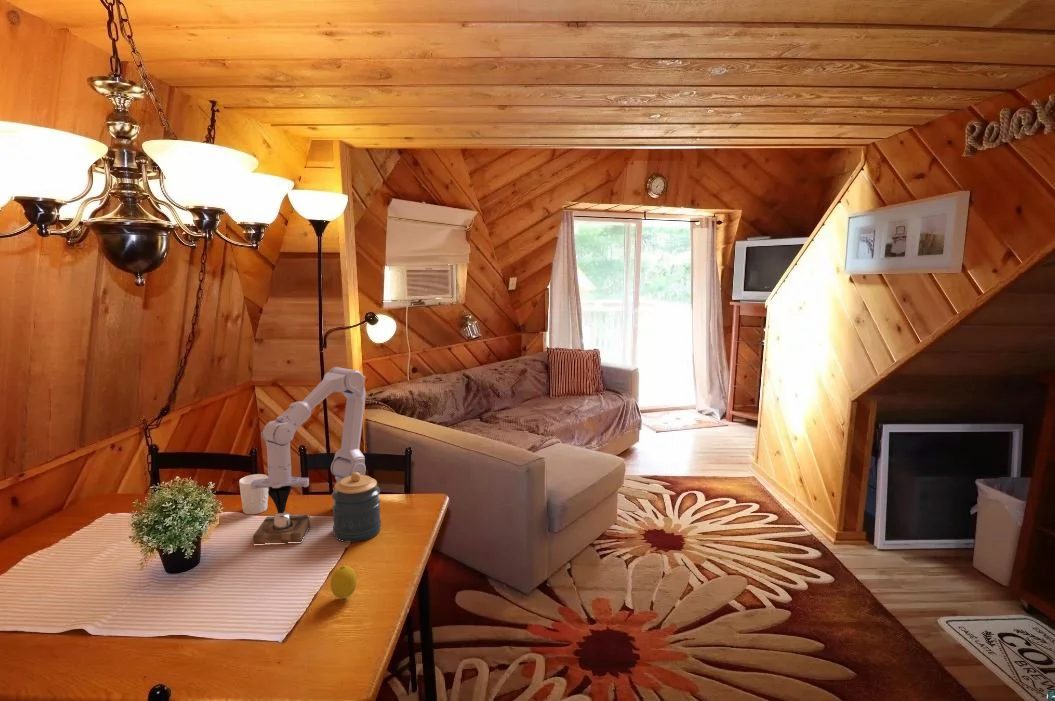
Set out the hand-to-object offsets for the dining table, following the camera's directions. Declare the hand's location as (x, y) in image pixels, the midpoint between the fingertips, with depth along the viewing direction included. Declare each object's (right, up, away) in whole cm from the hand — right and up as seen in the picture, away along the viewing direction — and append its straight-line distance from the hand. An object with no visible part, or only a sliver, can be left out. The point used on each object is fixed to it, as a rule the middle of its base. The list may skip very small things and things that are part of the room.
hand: (281, 511), depth 148 cm
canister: (+20, -7, +4) cm, 21 cm away
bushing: (0, -7, +1) cm, 7 cm away
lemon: (+26, -12, -27) cm, 40 cm away
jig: (0, -7, +1) cm, 7 cm away
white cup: (-16, -5, +17) cm, 23 cm away
